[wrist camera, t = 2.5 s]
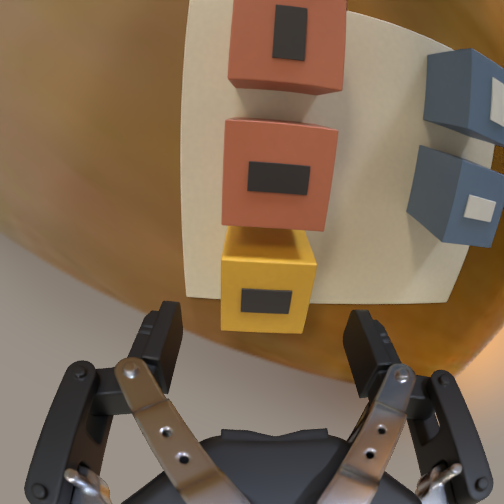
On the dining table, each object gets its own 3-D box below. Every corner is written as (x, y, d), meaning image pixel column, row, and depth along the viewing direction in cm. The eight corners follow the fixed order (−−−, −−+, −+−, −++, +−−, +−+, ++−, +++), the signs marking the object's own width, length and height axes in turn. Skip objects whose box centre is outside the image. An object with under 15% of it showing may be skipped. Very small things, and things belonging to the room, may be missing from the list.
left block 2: (233, 116, 14) (224, 119, 10) (316, 124, 14) (340, 130, 10) (229, 195, 16) (220, 226, 12) (307, 200, 16) (324, 233, 12)
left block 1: (239, 15, 11) (234, -18, 7) (323, 23, 11) (347, -4, 7) (234, 88, 13) (226, 79, 9) (318, 95, 13) (343, 91, 9)
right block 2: (418, 144, 14) (463, 160, 10) (467, 159, 14) (511, 178, 10) (405, 211, 16) (442, 243, 12) (453, 219, 16) (491, 248, 12)
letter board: (191, 1, 11) (189, -2, 10) (495, 76, 11) (500, 76, 11) (187, 292, 20) (186, 297, 19) (443, 298, 20) (446, 302, 20)
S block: (228, 221, 17) (220, 260, 13) (303, 226, 17) (318, 265, 13) (226, 284, 19) (220, 332, 15) (293, 287, 19) (302, 335, 15)
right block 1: (426, 54, 11) (472, 47, 7) (475, 78, 11) (521, 81, 7) (422, 119, 13) (468, 129, 9) (470, 137, 13) (516, 152, 9)
